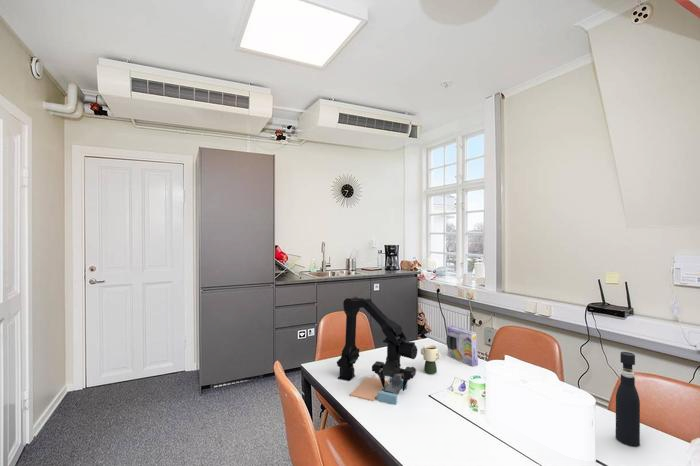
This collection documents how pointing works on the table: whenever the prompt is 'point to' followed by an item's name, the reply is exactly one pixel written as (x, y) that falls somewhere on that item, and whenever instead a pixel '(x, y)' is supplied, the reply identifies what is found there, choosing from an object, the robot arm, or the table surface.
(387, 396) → the vise jaws
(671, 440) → the table surface
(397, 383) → the crook bar
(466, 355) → the cake pan box
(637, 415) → the black bottle
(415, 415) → the table surface
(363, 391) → the mat
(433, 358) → the character mug
